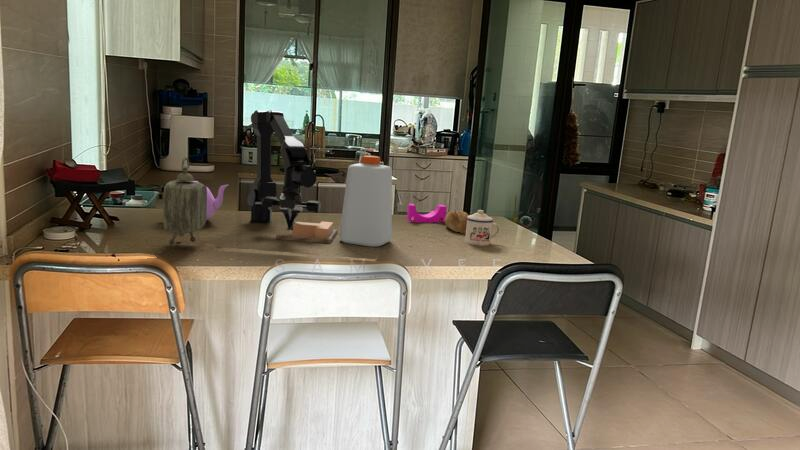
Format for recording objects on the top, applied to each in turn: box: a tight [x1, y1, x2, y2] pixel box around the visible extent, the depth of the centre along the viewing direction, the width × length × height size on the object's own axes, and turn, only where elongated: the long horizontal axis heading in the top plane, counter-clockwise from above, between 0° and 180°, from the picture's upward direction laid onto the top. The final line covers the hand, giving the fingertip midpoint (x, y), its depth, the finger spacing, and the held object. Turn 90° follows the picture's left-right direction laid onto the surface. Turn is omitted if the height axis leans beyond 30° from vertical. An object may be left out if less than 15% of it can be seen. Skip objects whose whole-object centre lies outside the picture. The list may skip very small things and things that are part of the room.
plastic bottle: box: [339, 155, 393, 248], centre depth 195 cm, size 15×15×28 cm
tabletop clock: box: [162, 157, 208, 246], centre depth 176 cm, size 14×9×25 cm, turn 5°
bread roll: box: [445, 209, 470, 234], centre depth 226 cm, size 10×15×8 cm, turn 13°
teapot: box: [192, 180, 229, 221], centre depth 210 cm, size 22×16×14 cm
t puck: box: [292, 221, 334, 239], centre depth 199 cm, size 12×12×4 cm
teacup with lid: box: [464, 209, 501, 247], centre depth 207 cm, size 12×9×12 cm
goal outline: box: [275, 226, 338, 244], centre depth 199 cm, size 17×18×1 cm
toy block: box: [406, 203, 448, 223], centre depth 239 cm, size 15×6×8 cm, turn 104°
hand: (290, 229), depth 199 cm, fingers closed
